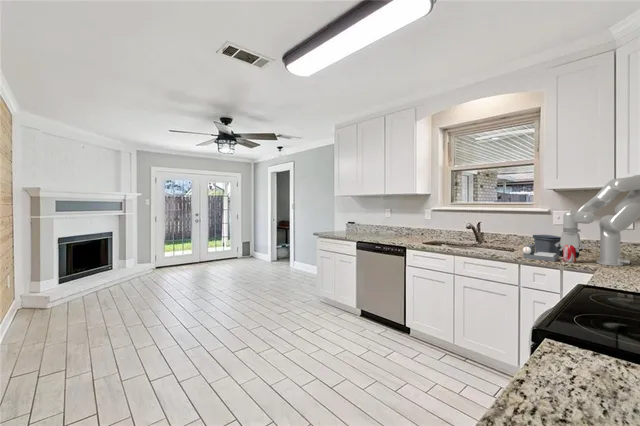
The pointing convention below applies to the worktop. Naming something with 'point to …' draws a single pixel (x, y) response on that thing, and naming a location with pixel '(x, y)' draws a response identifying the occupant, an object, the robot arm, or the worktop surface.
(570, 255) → the soda can
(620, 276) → the worktop surface
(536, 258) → the dial scale
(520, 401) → the worktop surface
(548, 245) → the storage bin
